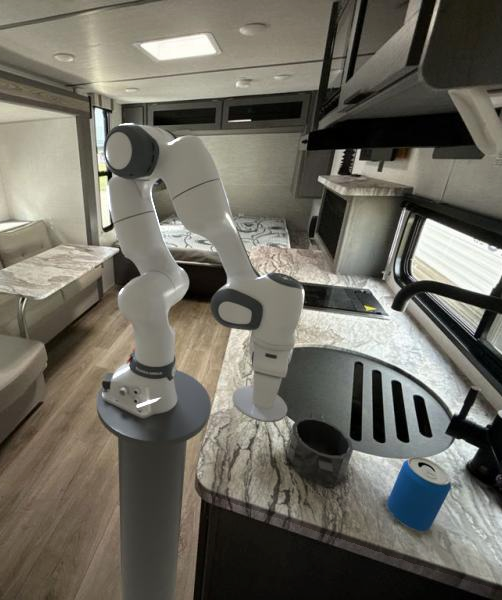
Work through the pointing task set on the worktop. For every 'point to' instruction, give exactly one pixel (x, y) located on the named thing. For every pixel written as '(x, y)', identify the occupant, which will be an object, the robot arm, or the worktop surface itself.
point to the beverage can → (419, 493)
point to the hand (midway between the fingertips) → (259, 398)
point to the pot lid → (245, 406)
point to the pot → (319, 450)
